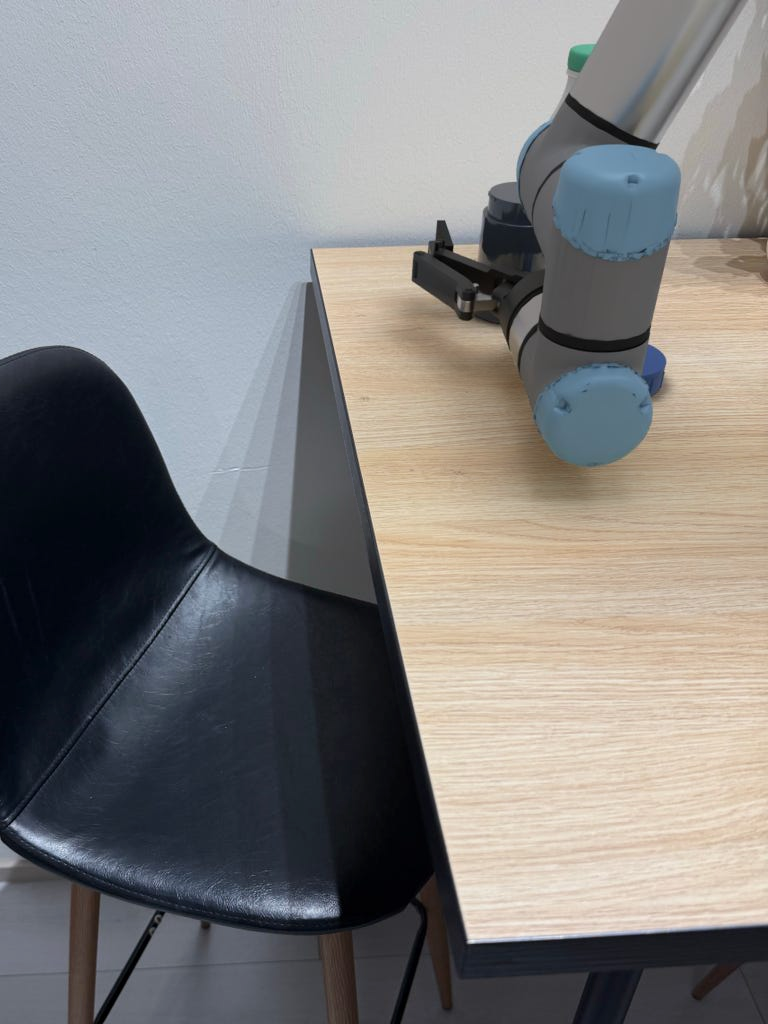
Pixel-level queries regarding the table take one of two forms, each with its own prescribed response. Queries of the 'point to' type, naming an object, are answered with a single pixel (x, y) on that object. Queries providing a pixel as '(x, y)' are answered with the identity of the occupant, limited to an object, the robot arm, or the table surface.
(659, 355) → the lid
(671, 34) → the robot arm
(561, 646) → the table surface
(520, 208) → the jar
